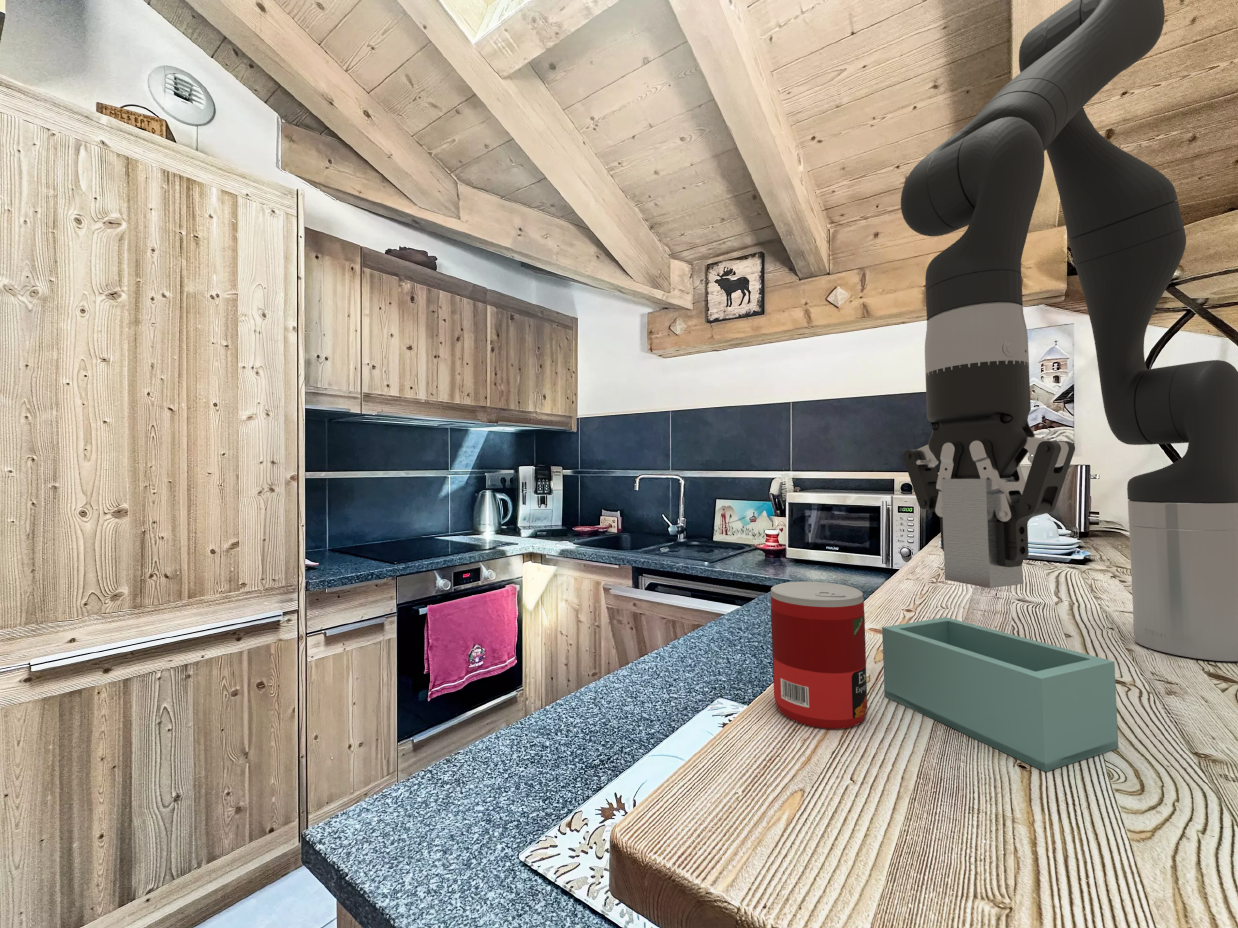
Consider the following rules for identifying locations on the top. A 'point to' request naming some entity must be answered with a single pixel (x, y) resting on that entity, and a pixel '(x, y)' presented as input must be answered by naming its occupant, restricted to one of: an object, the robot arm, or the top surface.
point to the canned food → (819, 653)
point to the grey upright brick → (973, 535)
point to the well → (1004, 689)
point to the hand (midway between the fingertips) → (982, 560)
